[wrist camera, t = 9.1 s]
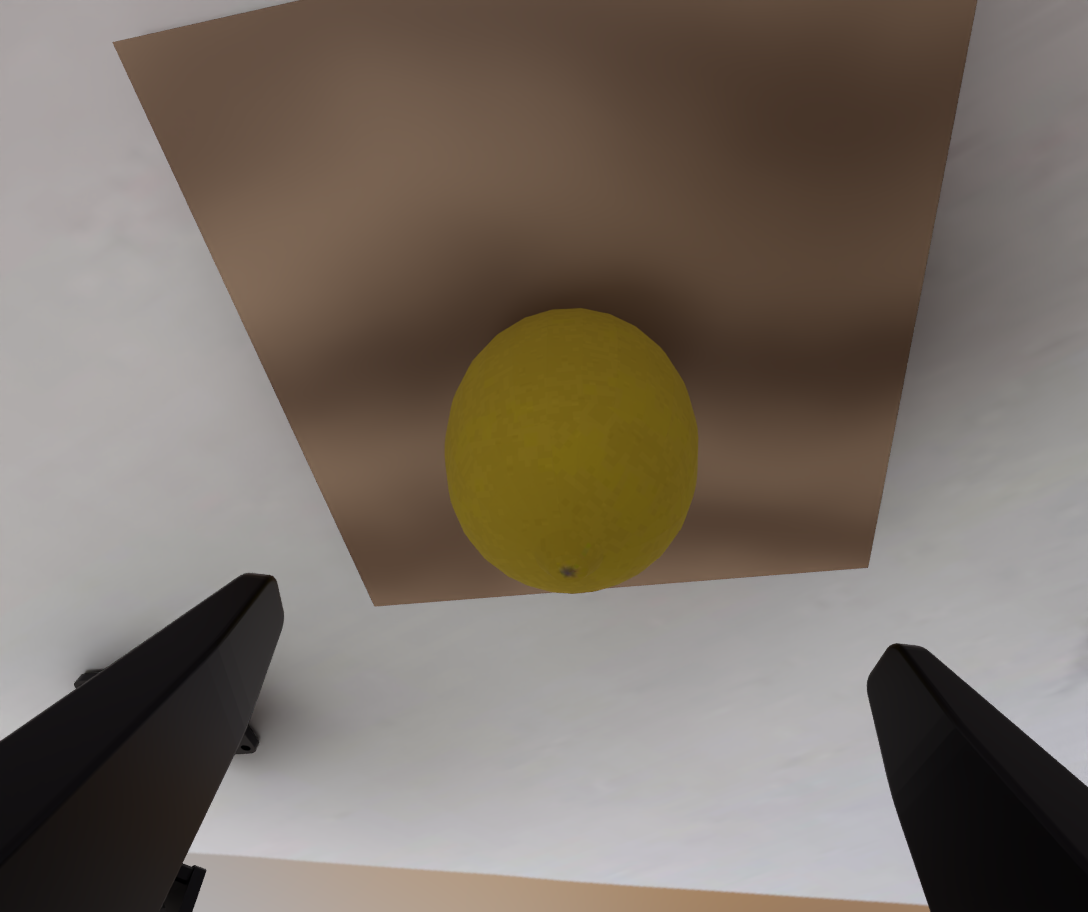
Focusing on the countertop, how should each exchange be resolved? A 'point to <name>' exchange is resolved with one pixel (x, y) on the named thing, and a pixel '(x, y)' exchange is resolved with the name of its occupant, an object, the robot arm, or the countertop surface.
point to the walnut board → (574, 238)
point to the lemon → (571, 451)
